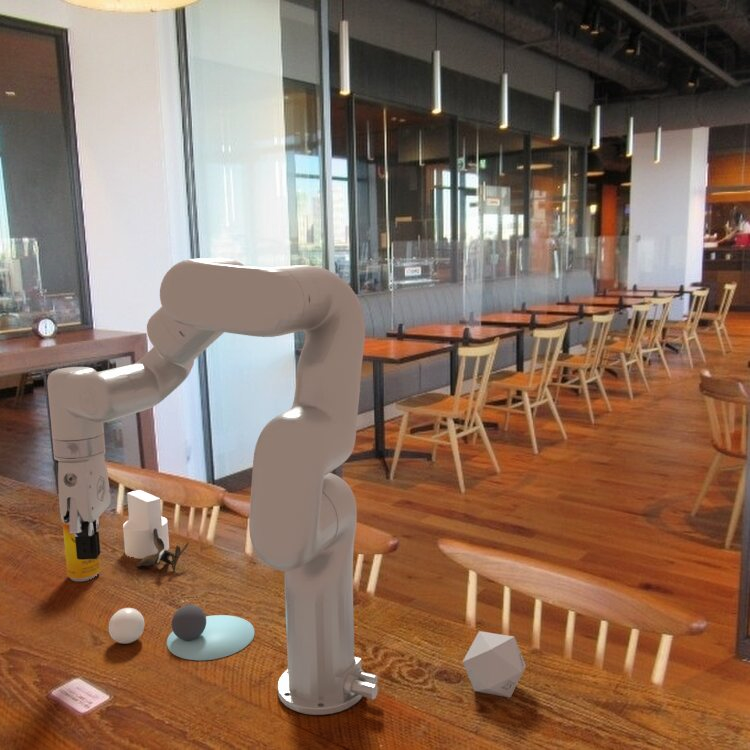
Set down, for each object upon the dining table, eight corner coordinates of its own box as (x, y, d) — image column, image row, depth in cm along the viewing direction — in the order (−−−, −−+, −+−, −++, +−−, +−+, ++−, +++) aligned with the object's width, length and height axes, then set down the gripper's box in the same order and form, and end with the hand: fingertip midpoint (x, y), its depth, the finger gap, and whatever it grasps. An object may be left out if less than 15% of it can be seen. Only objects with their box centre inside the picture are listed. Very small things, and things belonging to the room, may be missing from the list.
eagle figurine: (195, 554, 151) (159, 538, 155) (184, 533, 146) (147, 517, 149) (170, 587, 146) (133, 570, 150) (158, 566, 141) (120, 549, 144)
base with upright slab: (177, 549, 157) (173, 495, 155) (138, 562, 150) (134, 506, 148) (155, 538, 163) (152, 486, 161) (117, 550, 157) (113, 496, 155)
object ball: (173, 639, 121) (206, 641, 121) (166, 639, 116) (201, 641, 116) (177, 604, 123) (210, 606, 123) (170, 603, 118) (205, 604, 118)
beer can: (89, 583, 141) (82, 508, 138) (60, 581, 142) (54, 507, 139) (106, 570, 147) (101, 498, 144) (79, 568, 148) (73, 496, 145)
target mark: (271, 626, 123) (271, 625, 123) (217, 669, 111) (217, 667, 111) (206, 609, 130) (206, 608, 130) (148, 647, 117) (147, 646, 117)
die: (494, 719, 99) (536, 662, 99) (444, 675, 102) (484, 619, 102) (503, 706, 107) (543, 653, 106) (456, 665, 110) (494, 613, 110)
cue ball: (100, 614, 120) (113, 642, 121) (106, 626, 115) (120, 655, 116) (132, 597, 122) (145, 625, 123) (139, 607, 117) (153, 636, 118)
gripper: (87, 459, 108) (97, 576, 111) (118, 434, 123) (126, 538, 126) (35, 460, 108) (46, 578, 111) (72, 435, 122) (81, 540, 125)
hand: (88, 556), depth 118 cm, fingers closed
